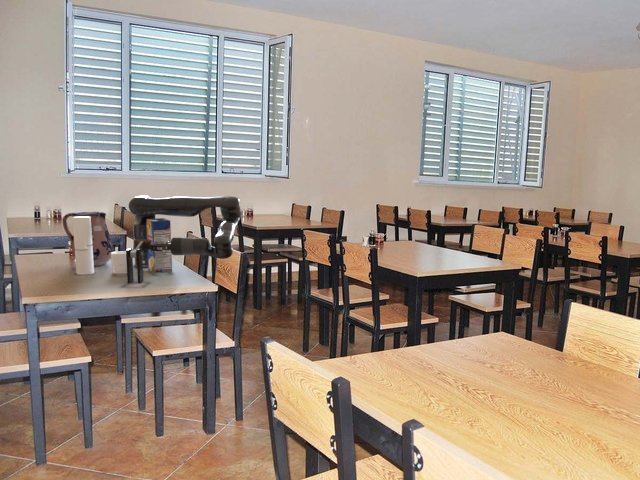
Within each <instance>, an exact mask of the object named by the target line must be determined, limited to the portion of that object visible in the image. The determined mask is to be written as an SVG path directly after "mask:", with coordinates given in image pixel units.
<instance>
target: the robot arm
mask: <svg viewBox="0 0 640 480" xmlns="http://www.w3.org/2000/svg"><path fill="white" fill-rule="evenodd" d="M210 208H219V209H220V216H221V218H222V222H221V223H220V225H219V226H218V230H217V233H216V234H215V236H214V239H213V242H214V243H213V244H214V246H213V244H211V242H210V240H209V239H208V238H204V237H201V238H200V237H198V238H197V237H171V243H170V242H169V241H165V242H155V243H143V245H142V246H141V248H140V249H142V259H143V268H149V265H148V250H150V251H160V252H161V251H163V252H167V251H169V250H171V253H172V256H195V255H197V256H200V255H201V256H208V257H212V258H216V259H219V260H226V259H229V258H231V257H232V256H233V244H232V242H233V241H234V238H235V231H236V228H237V226H238V223H239V221H240V220H241V217H242V208H241V202H240V199H239V197H236V196H234V195H233V196H232V195H227V196H225V195H224V196H210V197H203V196H202V197H200V196H172V197H164V198H163V197H162V198H152V197H151V196H149V195H137V196H135V197H133V198H131V199H130V201H129V202H128V209H129V212H130V213H132V214H133V215H135V221H134V223H133V224H132V230H133V231H132V232H133V233H132V234H133V240H134V239H136V240H147V222H146V219H156V215H158V216H159V215H161V216H169V217H182V218H183V217H185V218H192V217H196V216H198V215H199V214H201V213H203V212H205V211H206V210H208V209H210ZM138 244H139V243H134V242H133V250H135V249H136V247H137V246H138ZM134 267H136V268H137V258H134Z"/></svg>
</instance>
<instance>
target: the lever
mask: <svg viewBox="0 0 640 480" xmlns="http://www.w3.org/2000/svg"><path fill="white" fill-rule="evenodd" d="M134 243H139V244H138V246H137V247H136V249H135V250H134V249H132V250H131V252H130V256H131V258H132V259H135V258H137V257H136V250H138V249H140V248H141V246H142V245H143V243H152V240H136V239H134V238H133V244H134Z"/></svg>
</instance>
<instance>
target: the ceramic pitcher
mask: <svg viewBox="0 0 640 480" xmlns="http://www.w3.org/2000/svg"><path fill="white" fill-rule="evenodd" d="M106 215H107V213H106V212H103V211H102V212H100V211H83V212H82V211H81V212H67V213H66V214H65V215H64V216H63V218H62V227H63V229H64V231H65V234H66V235H67V237H68V238H69V240H70V248H71V251H72V256H73V258H74V259H75V245H74V235H73V234H72V232H71V231H70V228H69V226H68V222H67V220H68V218H70V217H72V218H73V217H78V216H89V217H91V229H92V245H93V262H94V267H100V266H103V265H106V264H107V263H108V262H110V260H111V253H112V252H114V244H113V241H112V238H111V237H112V236H111V235H110V231H109V228H108V225H107V221H106Z"/></svg>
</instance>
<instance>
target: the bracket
mask: <svg viewBox="0 0 640 480" xmlns="http://www.w3.org/2000/svg"><path fill="white" fill-rule="evenodd" d="M131 250H133V248H127V249H126V250H125V251H126V262H127V273H126V278H127V284H131V283H133V282H134V279H135V278H134V263H133V258H131V256H130V252H131ZM136 257H137V267H136V275H137V283H138V284H141V283H143V282H144V279H145V278H144V267H143V259H142V249H138V250H136Z"/></svg>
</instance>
